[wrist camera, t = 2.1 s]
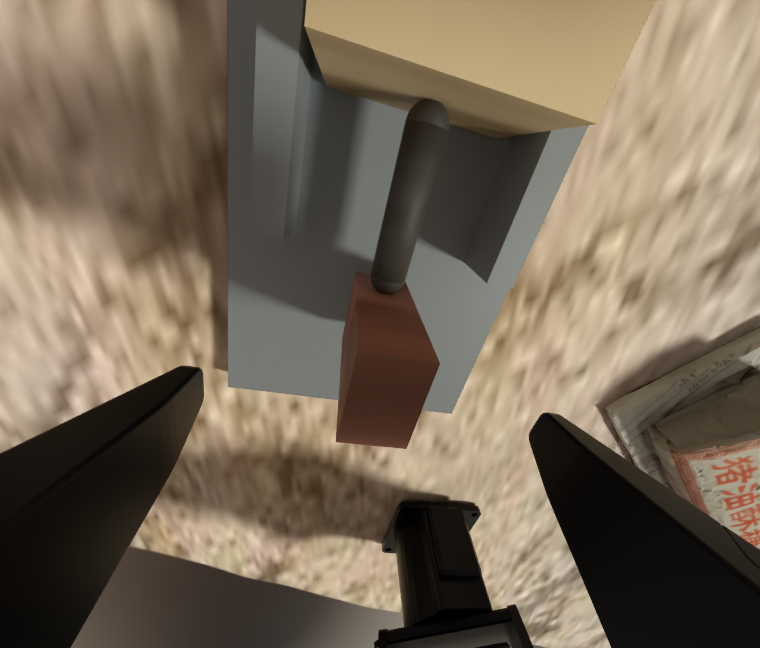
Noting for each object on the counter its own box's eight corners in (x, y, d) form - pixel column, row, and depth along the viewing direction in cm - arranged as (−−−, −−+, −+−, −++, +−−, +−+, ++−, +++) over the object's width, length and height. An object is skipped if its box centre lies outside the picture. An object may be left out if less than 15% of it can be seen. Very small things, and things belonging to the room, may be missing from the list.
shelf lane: (446, 401, 18) (472, 468, 14) (234, 374, 16) (195, 445, 12) (668, -102, 9) (919, -309, 5) (243, -322, 7) (89, -992, 3)
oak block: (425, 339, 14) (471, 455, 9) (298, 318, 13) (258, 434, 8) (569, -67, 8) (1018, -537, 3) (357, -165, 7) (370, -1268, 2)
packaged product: (865, 524, 21) (712, 576, 23) (778, 462, 25) (657, 511, 27) (895, 365, 13) (662, 468, 15) (763, 314, 17) (596, 401, 20)
